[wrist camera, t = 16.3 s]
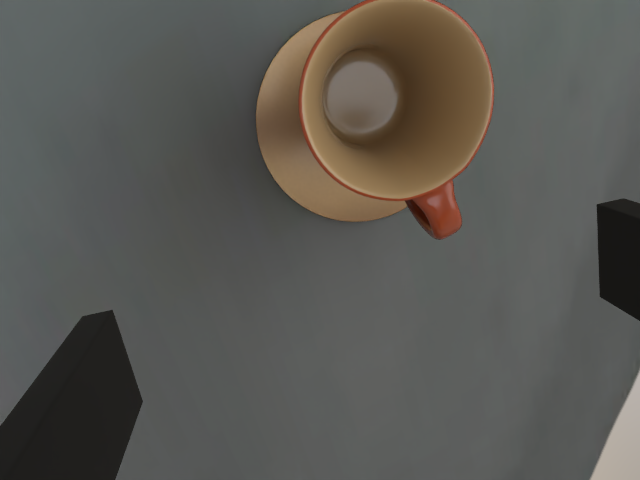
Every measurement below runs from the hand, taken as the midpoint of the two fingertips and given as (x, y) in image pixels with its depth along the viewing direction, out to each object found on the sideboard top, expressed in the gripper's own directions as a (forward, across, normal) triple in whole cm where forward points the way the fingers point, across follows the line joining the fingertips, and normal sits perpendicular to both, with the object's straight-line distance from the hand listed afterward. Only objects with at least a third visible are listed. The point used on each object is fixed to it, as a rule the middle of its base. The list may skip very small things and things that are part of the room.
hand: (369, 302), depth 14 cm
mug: (+21, -5, -3) cm, 22 cm away
